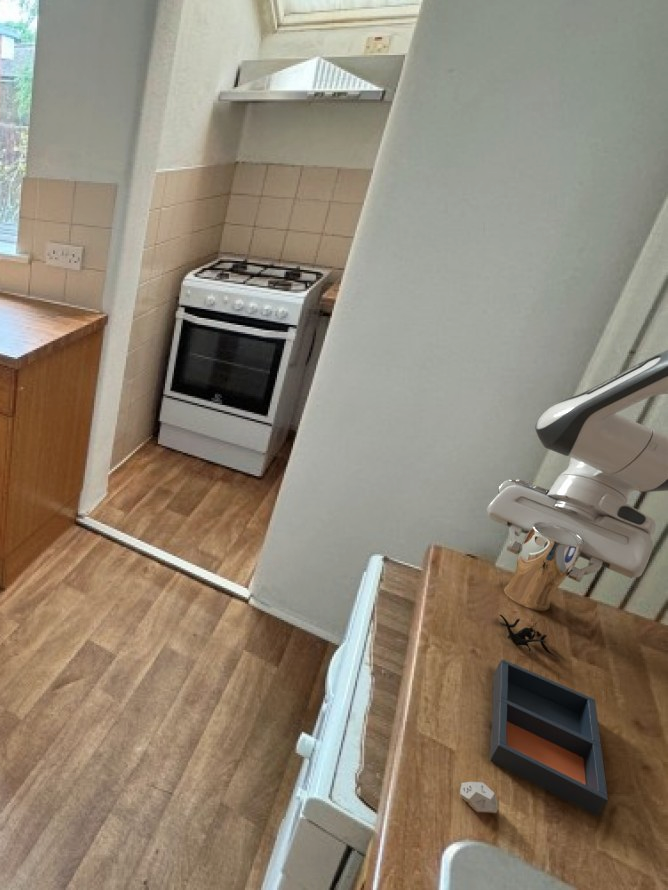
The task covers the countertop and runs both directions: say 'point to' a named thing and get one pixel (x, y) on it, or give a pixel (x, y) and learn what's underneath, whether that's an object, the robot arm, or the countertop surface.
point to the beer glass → (542, 567)
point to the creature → (525, 635)
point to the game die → (479, 797)
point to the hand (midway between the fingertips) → (542, 565)
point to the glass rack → (548, 736)
